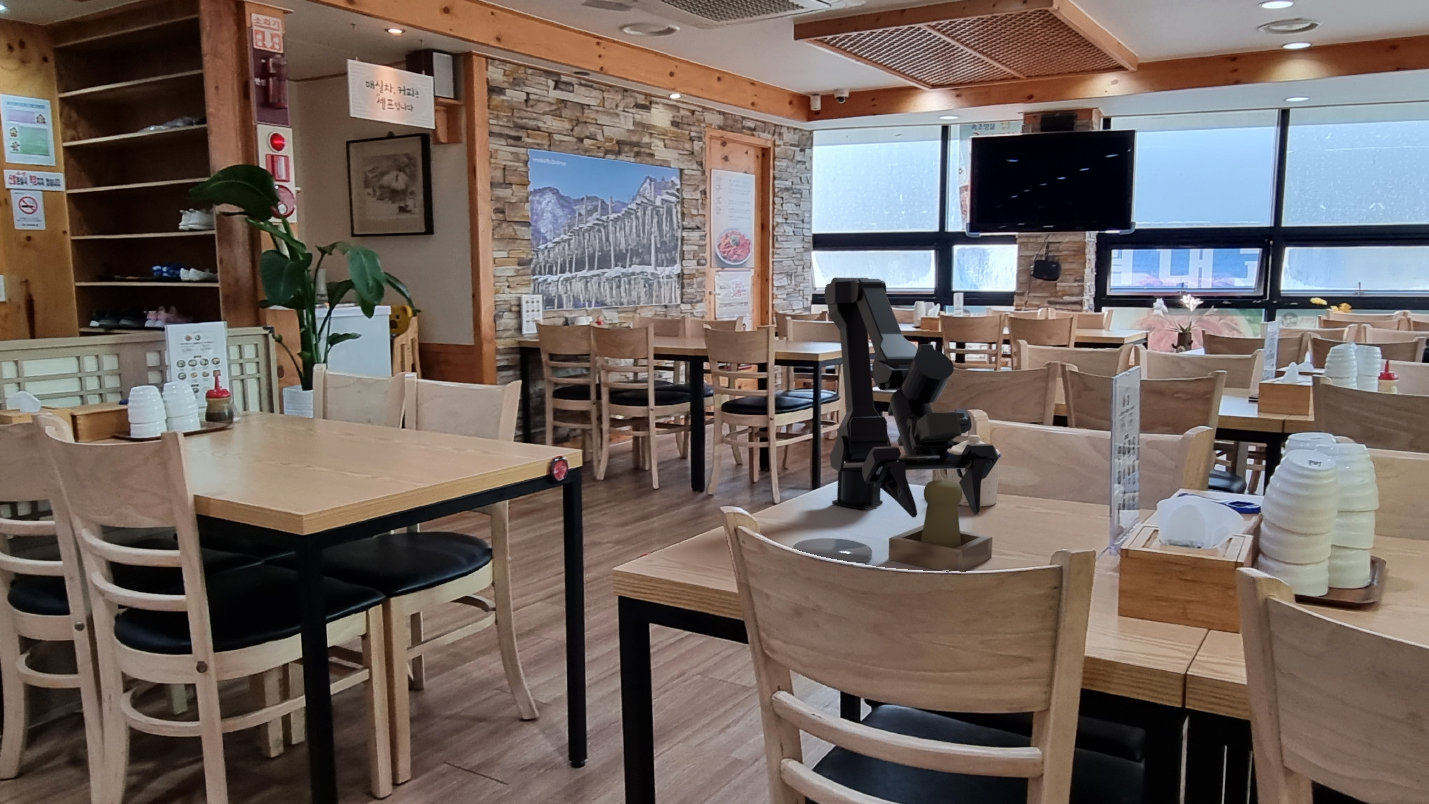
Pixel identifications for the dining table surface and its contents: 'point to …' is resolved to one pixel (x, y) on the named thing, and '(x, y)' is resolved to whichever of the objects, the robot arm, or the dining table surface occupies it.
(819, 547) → the slate coaster
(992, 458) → the robot arm
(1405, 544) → the dining table surface
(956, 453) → the teacup with lid
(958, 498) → the olive game pawn
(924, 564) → the walnut collar
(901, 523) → the dining table surface
